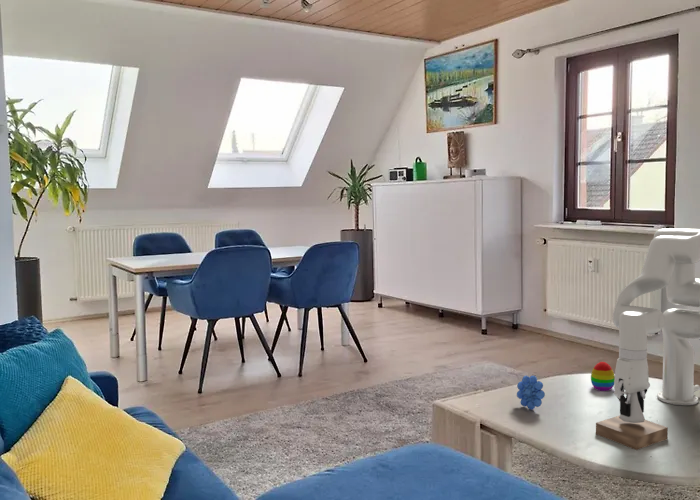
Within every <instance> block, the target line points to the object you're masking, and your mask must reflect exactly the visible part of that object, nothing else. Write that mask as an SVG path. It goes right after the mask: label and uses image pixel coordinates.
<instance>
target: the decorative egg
mask: <svg viewBox="0 0 700 500" xmlns="http://www.w3.org/2000/svg"><path fill="white" fill-rule="evenodd" d="M614 380H615V371H614V370H613V368H612V367H611V365H610V364H608V362H605V361H599V362H597V363H596V364H595V365H594V367H593V368H592V371H591V373H590V382H591V384H592V385H591V386H593V388H594V389H595V390H597V391H601V392H607V391H611V390H612V389H613V387H614Z"/></svg>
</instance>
